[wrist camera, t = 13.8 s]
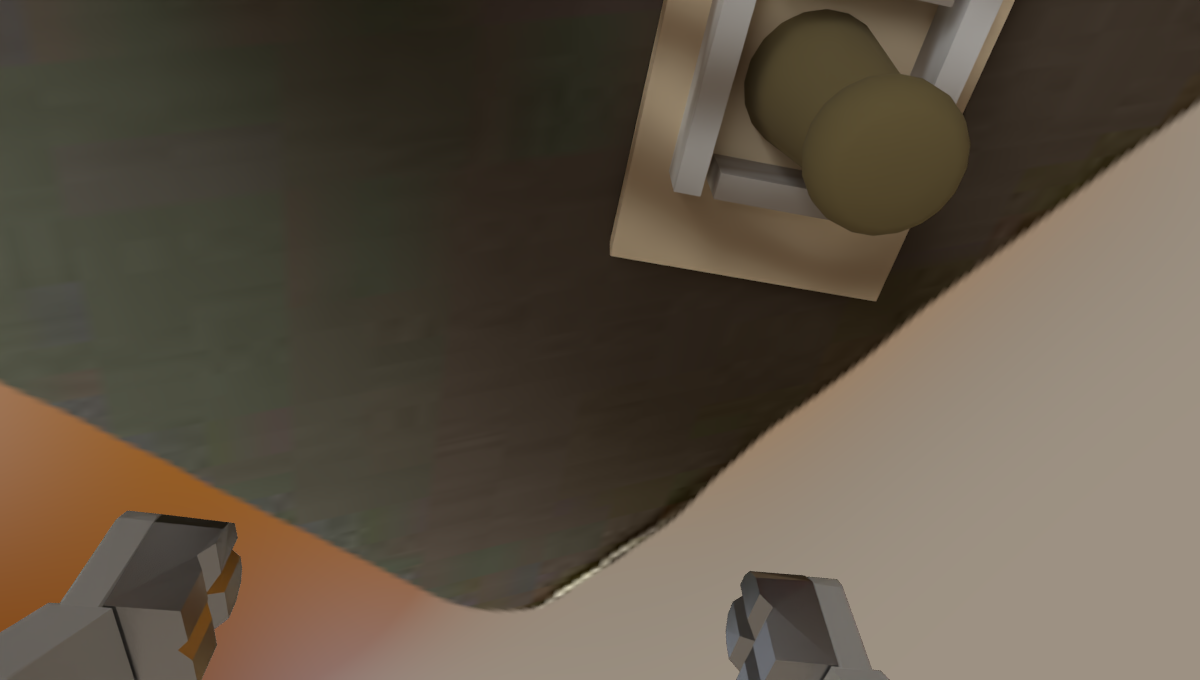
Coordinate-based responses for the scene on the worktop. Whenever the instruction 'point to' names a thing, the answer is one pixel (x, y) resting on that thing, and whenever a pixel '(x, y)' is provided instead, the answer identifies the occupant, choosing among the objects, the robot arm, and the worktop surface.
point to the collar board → (748, 161)
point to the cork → (856, 123)
